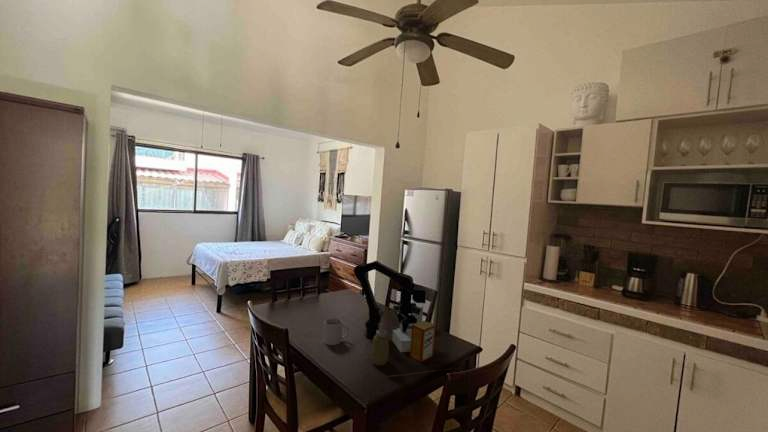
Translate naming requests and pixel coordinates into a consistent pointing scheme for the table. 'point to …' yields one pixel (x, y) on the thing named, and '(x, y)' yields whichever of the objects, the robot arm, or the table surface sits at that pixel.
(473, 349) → the table surface
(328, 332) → the mug
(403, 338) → the lid
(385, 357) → the squeeze bottle
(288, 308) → the table surface
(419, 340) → the baking soda box
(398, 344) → the tub
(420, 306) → the supplement box
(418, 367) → the table surface
